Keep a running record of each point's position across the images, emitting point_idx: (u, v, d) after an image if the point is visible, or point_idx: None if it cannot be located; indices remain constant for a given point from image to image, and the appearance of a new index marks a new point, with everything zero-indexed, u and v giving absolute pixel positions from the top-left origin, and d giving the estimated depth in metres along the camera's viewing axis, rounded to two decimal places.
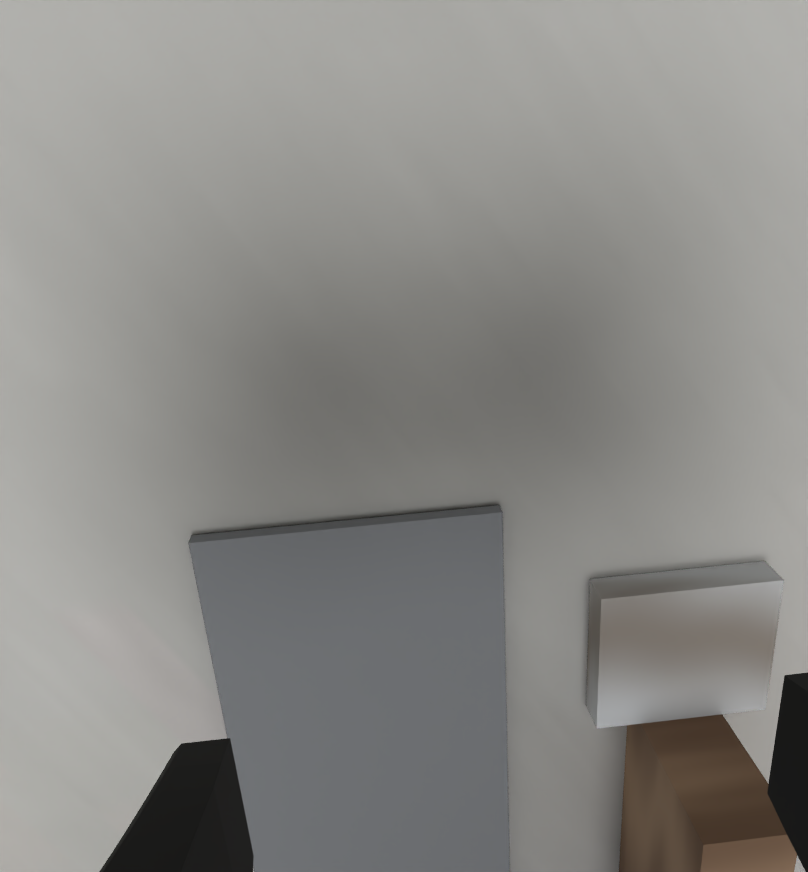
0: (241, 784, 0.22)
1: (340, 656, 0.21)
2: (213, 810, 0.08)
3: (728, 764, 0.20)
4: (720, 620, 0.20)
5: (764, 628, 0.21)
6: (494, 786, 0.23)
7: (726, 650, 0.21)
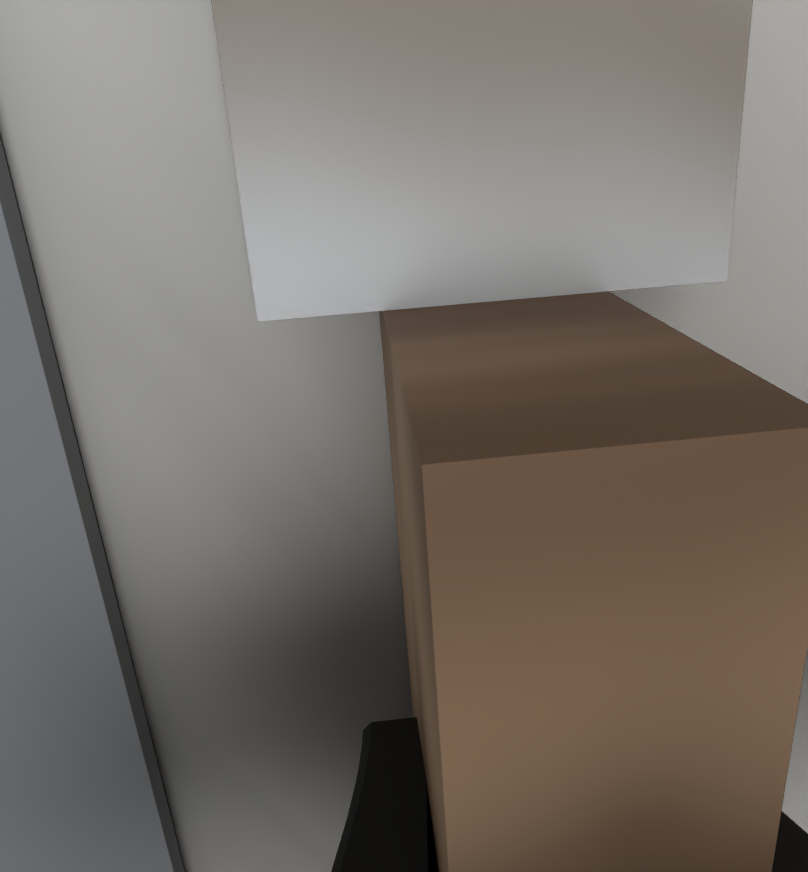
0: None
1: None
2: (426, 785, 0.08)
3: (598, 338, 0.06)
4: None
5: None
6: (47, 522, 0.09)
7: (606, 51, 0.07)
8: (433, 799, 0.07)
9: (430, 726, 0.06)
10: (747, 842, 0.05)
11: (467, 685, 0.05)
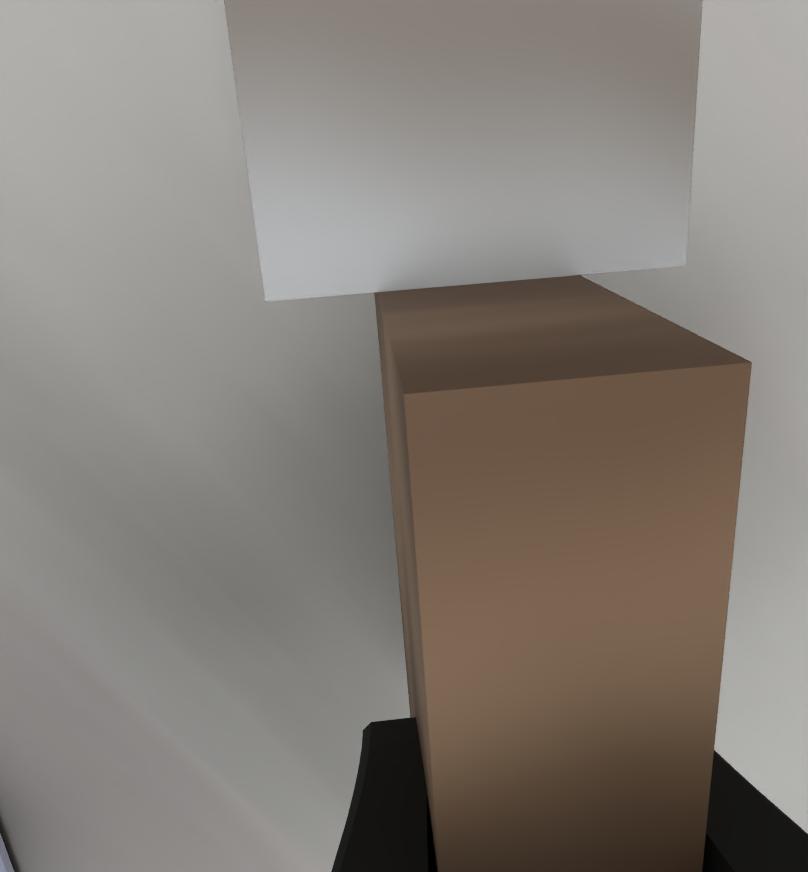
0: None
1: None
2: None
3: (563, 308, 0.07)
4: None
5: None
6: None
7: (573, 61, 0.08)
8: (421, 719, 0.08)
9: (417, 645, 0.07)
10: (690, 738, 0.06)
11: (445, 590, 0.06)
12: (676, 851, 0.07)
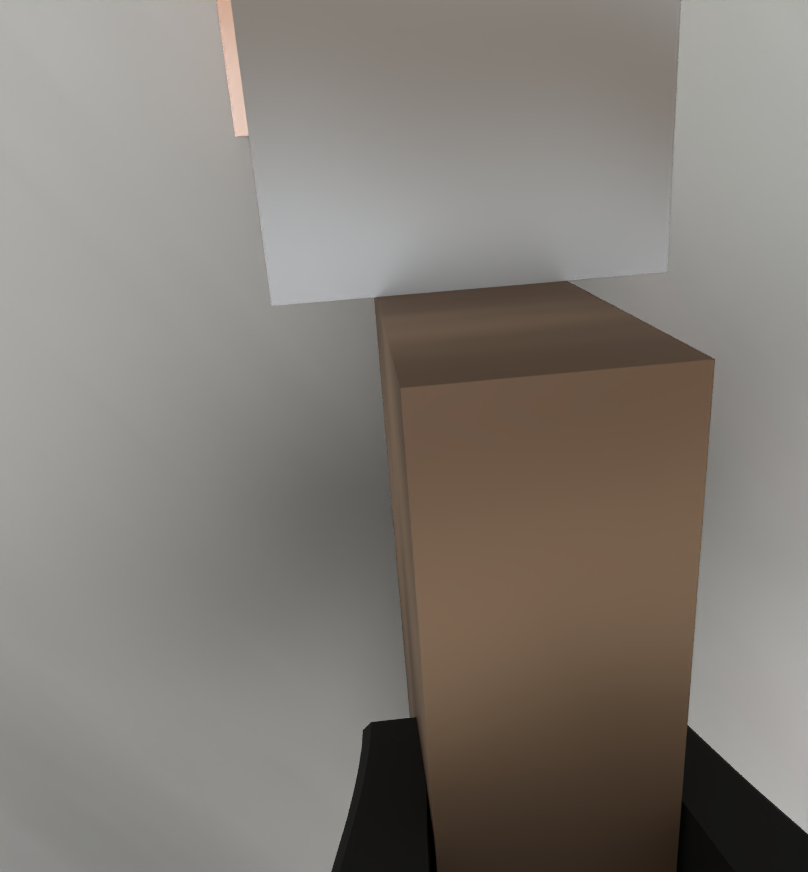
0: None
1: None
2: (426, 785, 0.08)
3: (549, 311, 0.08)
4: None
5: (648, 17, 0.08)
6: None
7: (559, 81, 0.09)
8: (417, 695, 0.08)
9: (413, 623, 0.07)
10: (665, 708, 0.07)
11: (439, 567, 0.06)
12: (654, 815, 0.07)
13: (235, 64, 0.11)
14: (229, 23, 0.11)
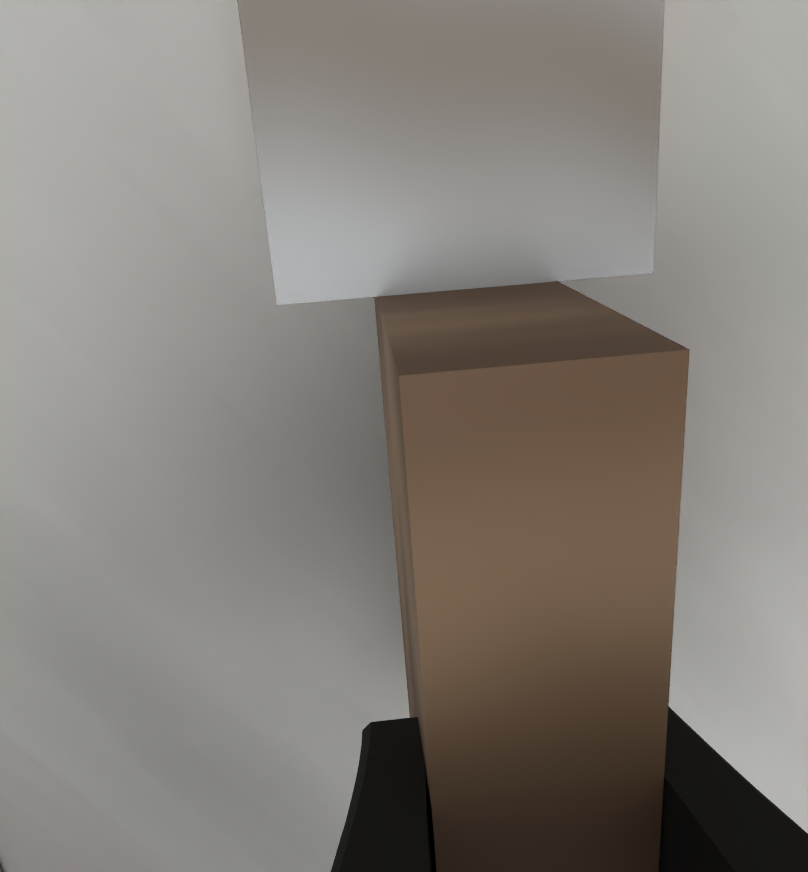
0: None
1: None
2: (426, 785, 0.08)
3: (539, 309, 0.08)
4: None
5: (633, 32, 0.09)
6: None
7: (550, 93, 0.09)
8: (415, 673, 0.09)
9: (411, 602, 0.08)
10: (647, 680, 0.07)
11: (434, 544, 0.07)
12: (639, 783, 0.08)
13: None
14: None
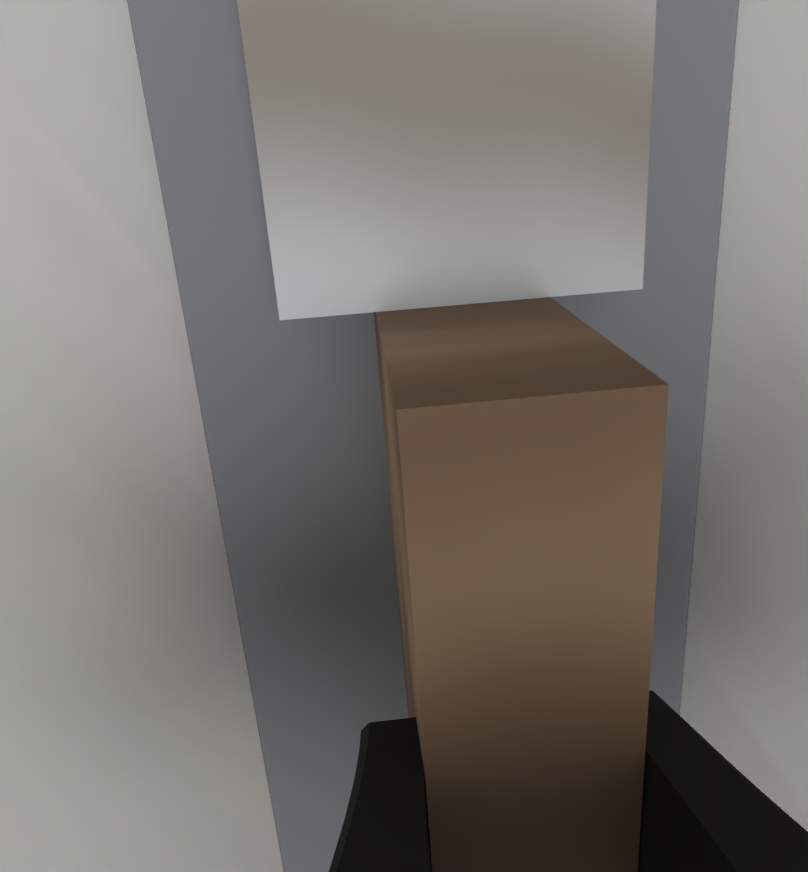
0: (221, 478, 0.12)
1: None
2: (424, 785, 0.08)
3: (531, 331, 0.09)
4: (521, 26, 0.09)
5: (625, 58, 0.09)
6: (673, 501, 0.13)
7: (543, 116, 0.09)
8: (412, 674, 0.09)
9: (408, 611, 0.08)
10: (629, 685, 0.08)
11: (429, 563, 0.07)
12: (620, 779, 0.08)
13: None
14: None
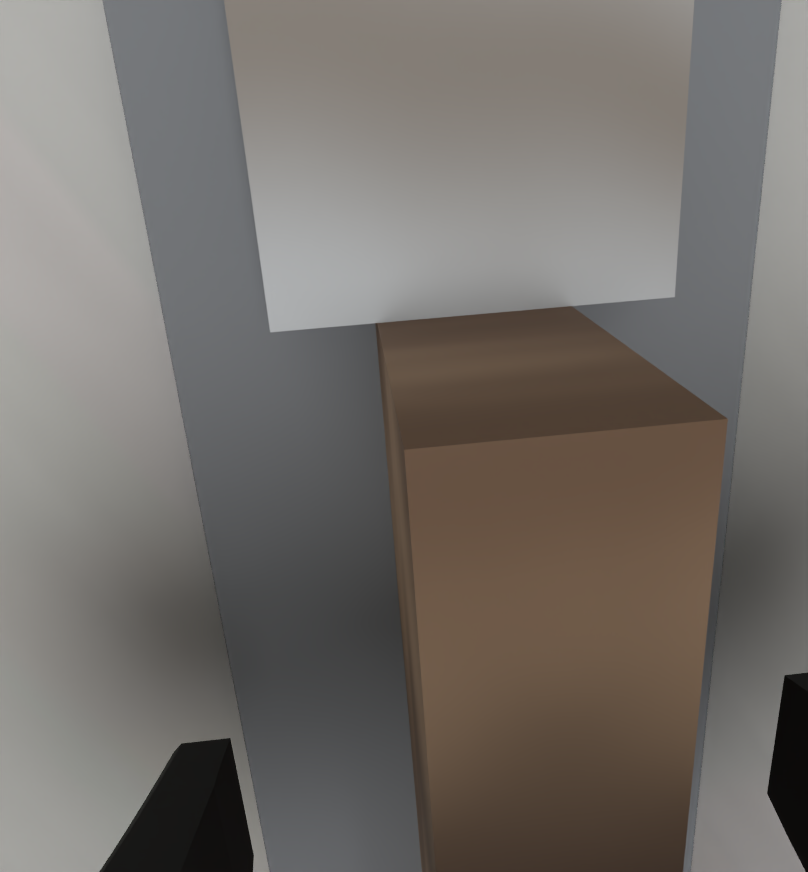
0: (207, 502, 0.11)
1: None
2: (213, 810, 0.08)
3: (555, 348, 0.08)
4: (543, 1, 0.08)
5: (659, 38, 0.08)
6: None
7: (567, 103, 0.08)
8: (419, 734, 0.08)
9: (415, 668, 0.07)
10: (671, 759, 0.07)
11: (442, 625, 0.06)
12: (658, 860, 0.07)
13: None
14: None
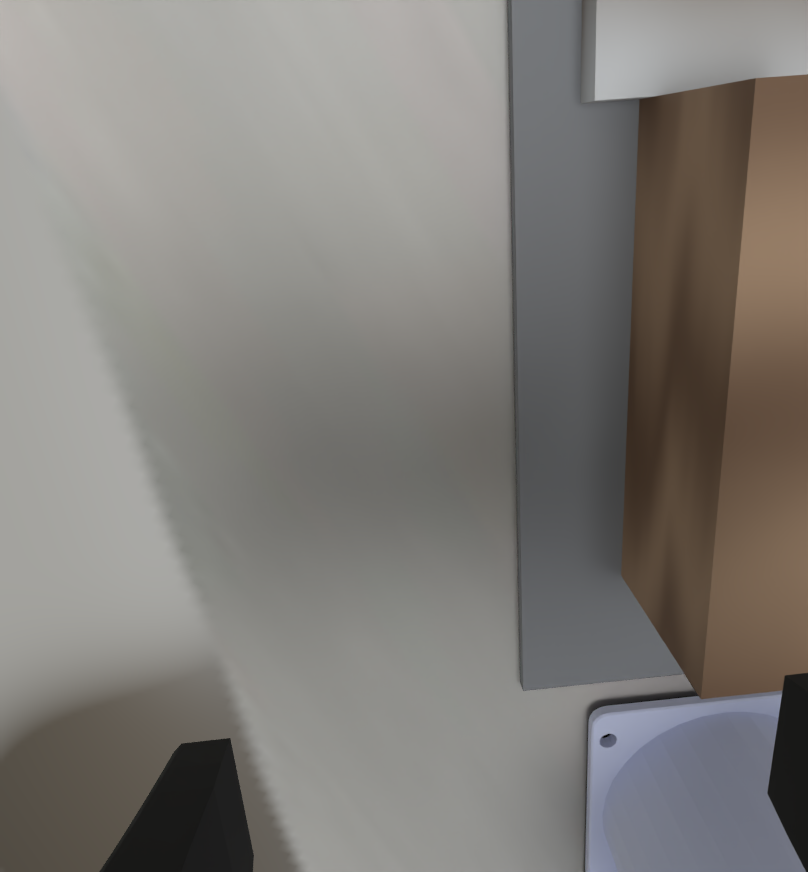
0: (521, 234, 0.17)
1: None
2: (213, 810, 0.08)
3: None
4: None
5: None
6: None
7: None
8: (702, 306, 0.14)
9: (715, 248, 0.14)
10: None
11: (758, 182, 0.12)
12: None
13: None
14: None
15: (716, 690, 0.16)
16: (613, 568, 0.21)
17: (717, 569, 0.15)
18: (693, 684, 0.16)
